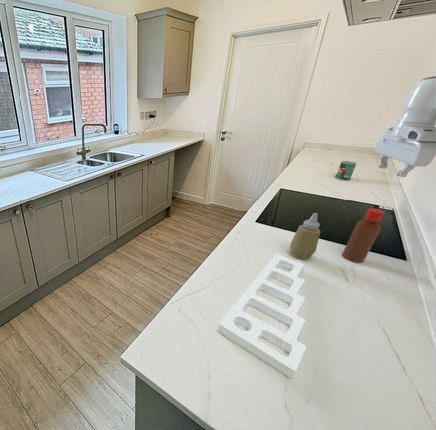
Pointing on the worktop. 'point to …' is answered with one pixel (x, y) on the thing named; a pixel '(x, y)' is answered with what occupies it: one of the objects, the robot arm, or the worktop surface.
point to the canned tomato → (345, 170)
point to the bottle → (361, 240)
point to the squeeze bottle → (306, 238)
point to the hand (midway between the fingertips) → (391, 171)
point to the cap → (374, 215)
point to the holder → (262, 329)
